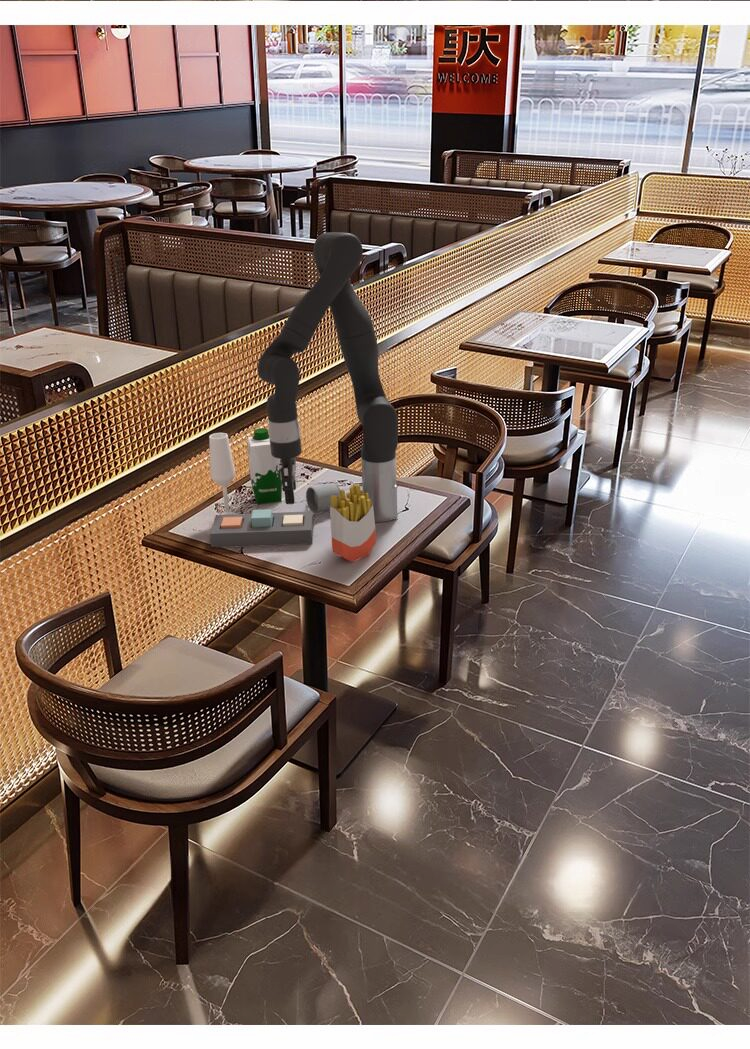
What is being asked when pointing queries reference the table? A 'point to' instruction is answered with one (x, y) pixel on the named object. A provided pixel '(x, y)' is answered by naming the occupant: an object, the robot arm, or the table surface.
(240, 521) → the terracotta key
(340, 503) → the french fries container
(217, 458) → the champagne flute
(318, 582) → the table surface
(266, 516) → the teal key
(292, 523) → the sand key
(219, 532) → the grey long flat block
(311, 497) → the ceramic mug
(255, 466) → the milk carton
